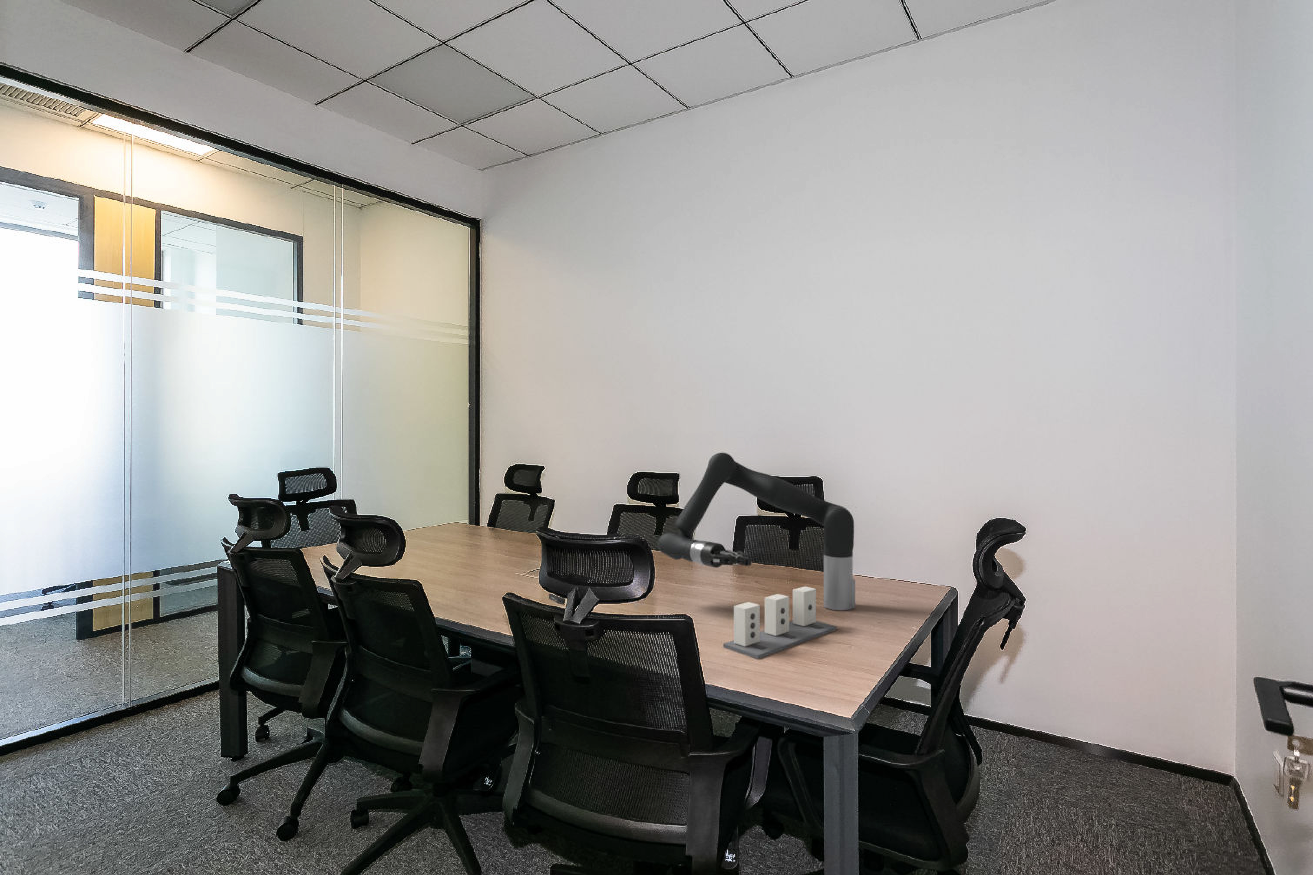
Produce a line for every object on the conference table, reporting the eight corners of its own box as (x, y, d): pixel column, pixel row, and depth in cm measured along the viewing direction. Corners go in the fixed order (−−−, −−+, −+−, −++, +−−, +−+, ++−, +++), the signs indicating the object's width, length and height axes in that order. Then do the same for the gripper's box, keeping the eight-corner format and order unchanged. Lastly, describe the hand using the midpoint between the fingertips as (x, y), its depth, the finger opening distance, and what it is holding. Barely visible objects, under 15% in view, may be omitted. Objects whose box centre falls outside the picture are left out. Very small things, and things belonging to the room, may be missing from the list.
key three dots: (733, 642, 177) (733, 606, 177) (748, 637, 181) (748, 602, 181) (745, 646, 174) (745, 609, 174) (760, 641, 178) (760, 605, 178)
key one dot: (792, 623, 194) (792, 589, 194) (804, 619, 198) (804, 586, 198) (804, 626, 191) (804, 592, 191) (816, 622, 195) (816, 588, 195)
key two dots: (764, 632, 186) (764, 597, 186) (777, 628, 190) (777, 593, 190) (776, 636, 183) (776, 600, 182) (789, 631, 187) (789, 596, 186)
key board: (723, 647, 177) (723, 643, 177) (803, 620, 201) (803, 616, 201) (757, 659, 168) (757, 654, 168) (837, 629, 192) (837, 625, 192)
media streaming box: (601, 600, 227) (601, 591, 227) (564, 607, 218) (564, 598, 218) (581, 591, 239) (581, 583, 239) (545, 597, 230) (544, 589, 230)
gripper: (692, 544, 202) (734, 552, 189) (722, 539, 211) (764, 546, 198) (692, 568, 202) (734, 578, 189) (722, 562, 211) (764, 571, 198)
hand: (749, 562), depth 193 cm, fingers closed
